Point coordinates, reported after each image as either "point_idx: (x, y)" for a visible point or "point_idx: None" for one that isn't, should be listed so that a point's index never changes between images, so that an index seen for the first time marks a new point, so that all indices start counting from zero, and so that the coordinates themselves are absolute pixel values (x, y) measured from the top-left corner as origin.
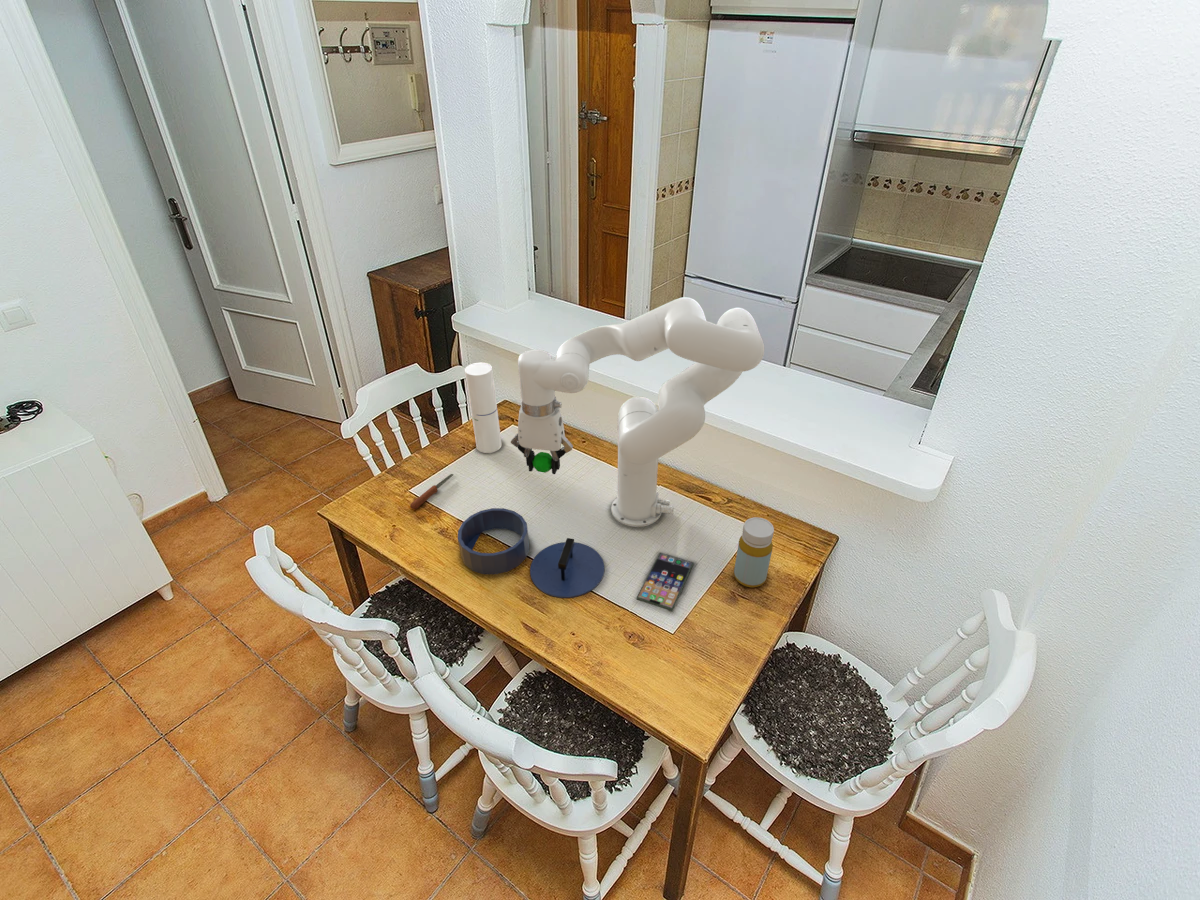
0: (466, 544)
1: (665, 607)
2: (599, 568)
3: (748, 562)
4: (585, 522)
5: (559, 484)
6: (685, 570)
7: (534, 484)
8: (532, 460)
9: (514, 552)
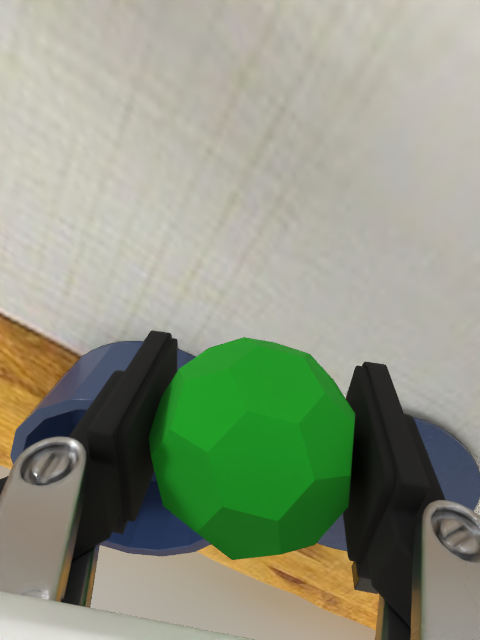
0: (66, 417)
1: None
2: (463, 499)
3: None
4: (441, 306)
5: (320, 22)
6: None
7: (180, 42)
8: (149, 450)
9: None
